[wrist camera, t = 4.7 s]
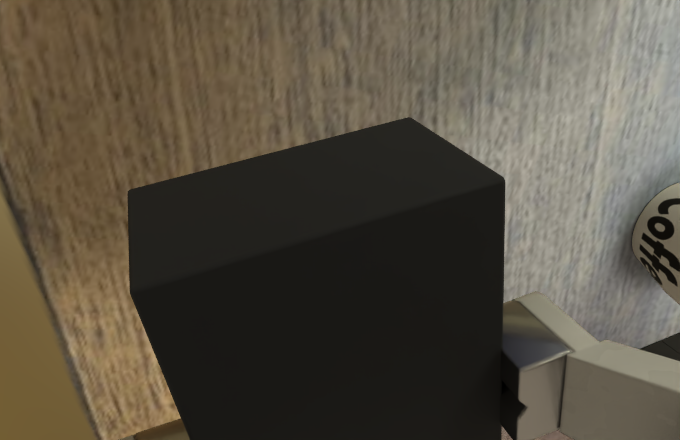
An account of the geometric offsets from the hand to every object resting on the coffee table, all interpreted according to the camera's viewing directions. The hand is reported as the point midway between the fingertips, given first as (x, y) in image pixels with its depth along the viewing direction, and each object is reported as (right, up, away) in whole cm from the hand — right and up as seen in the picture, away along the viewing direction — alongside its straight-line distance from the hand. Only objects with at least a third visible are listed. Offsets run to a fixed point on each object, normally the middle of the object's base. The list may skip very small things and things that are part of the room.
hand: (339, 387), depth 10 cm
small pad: (-1, +1, +2) cm, 2 cm away
